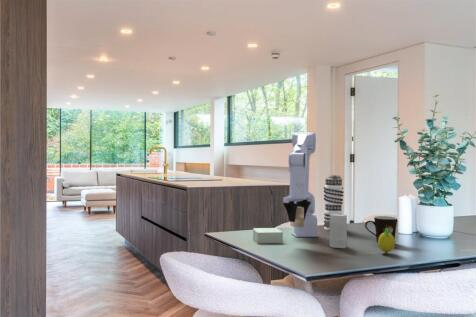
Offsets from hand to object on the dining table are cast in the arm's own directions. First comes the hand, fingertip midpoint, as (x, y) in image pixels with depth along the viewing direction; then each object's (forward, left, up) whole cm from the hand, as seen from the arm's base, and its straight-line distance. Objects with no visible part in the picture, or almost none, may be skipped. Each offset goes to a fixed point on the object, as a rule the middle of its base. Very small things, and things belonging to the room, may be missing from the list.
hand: (297, 220), depth 157 cm
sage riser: (+9, -11, -9) cm, 17 cm away
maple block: (0, 0, -2) cm, 2 cm away
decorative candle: (-27, -35, -10) cm, 45 cm away
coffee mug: (-35, -3, -10) cm, 36 cm away
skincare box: (-15, +3, -10) cm, 18 cm away
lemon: (-28, +15, -10) cm, 33 cm away
